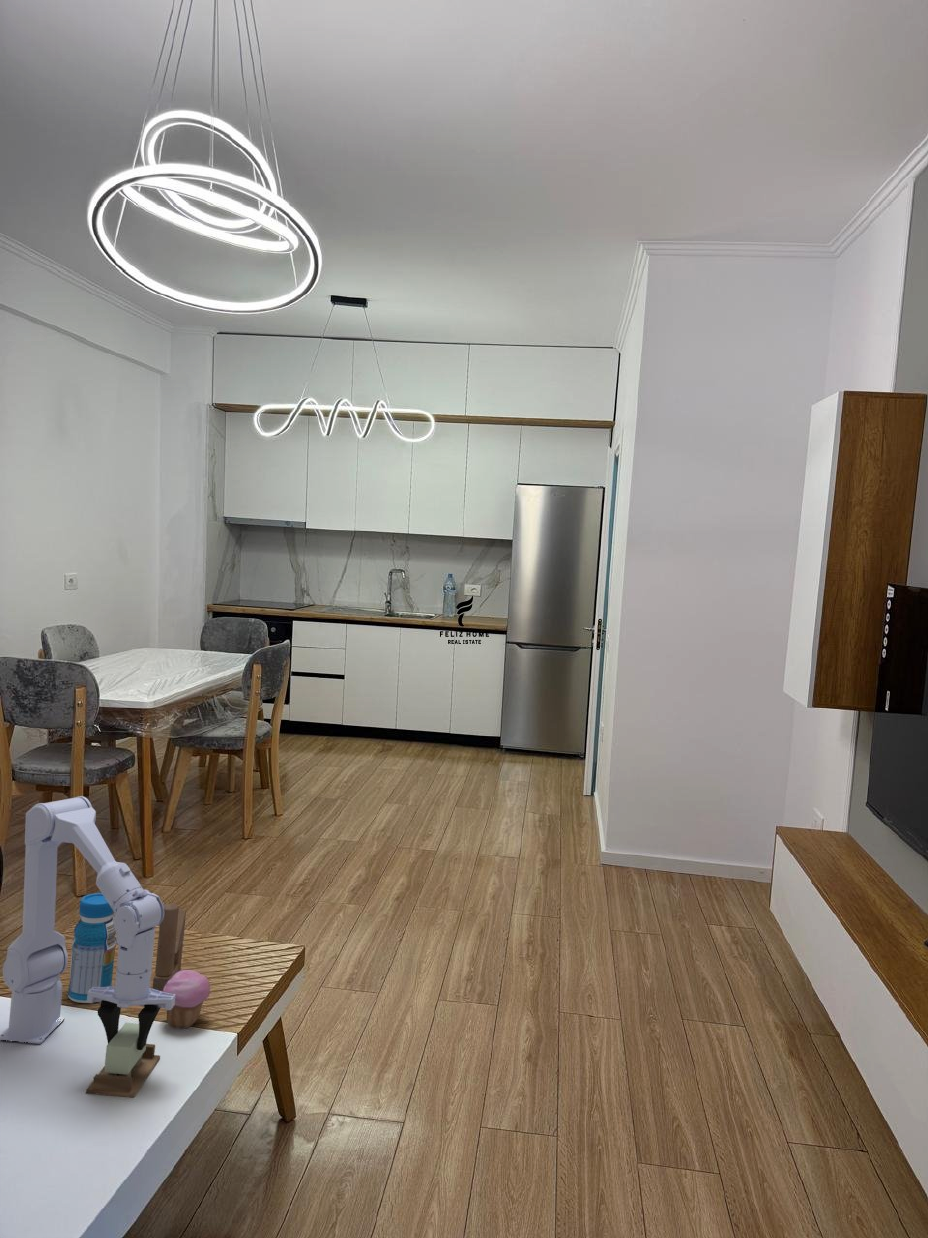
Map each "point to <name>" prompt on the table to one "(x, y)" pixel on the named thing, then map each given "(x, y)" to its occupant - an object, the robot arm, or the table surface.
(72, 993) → the beverage bottle
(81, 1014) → the table surface
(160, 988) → the wooden block
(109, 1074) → the peg frame
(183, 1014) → the cupcake
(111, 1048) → the pale green block
